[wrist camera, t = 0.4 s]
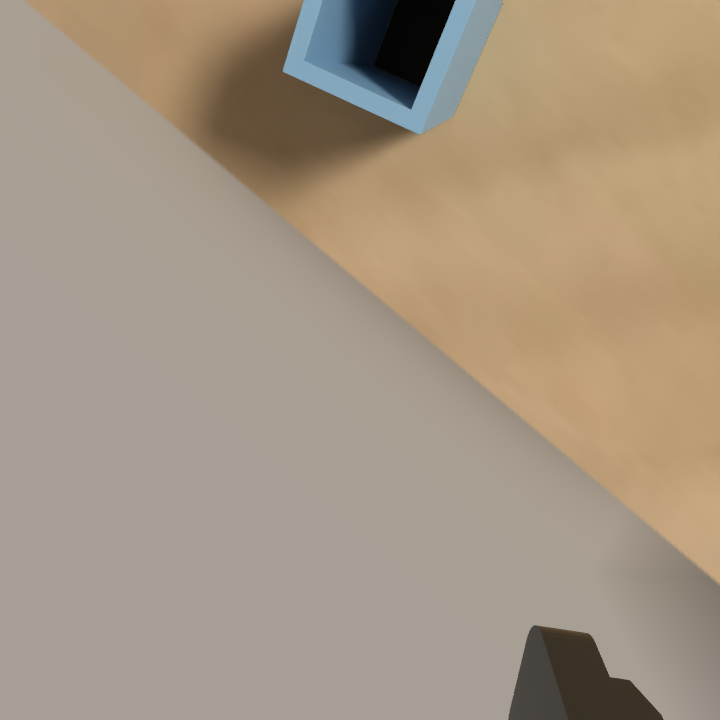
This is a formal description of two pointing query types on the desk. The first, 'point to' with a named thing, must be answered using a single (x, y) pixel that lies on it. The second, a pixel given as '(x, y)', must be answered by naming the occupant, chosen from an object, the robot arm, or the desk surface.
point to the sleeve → (361, 47)
